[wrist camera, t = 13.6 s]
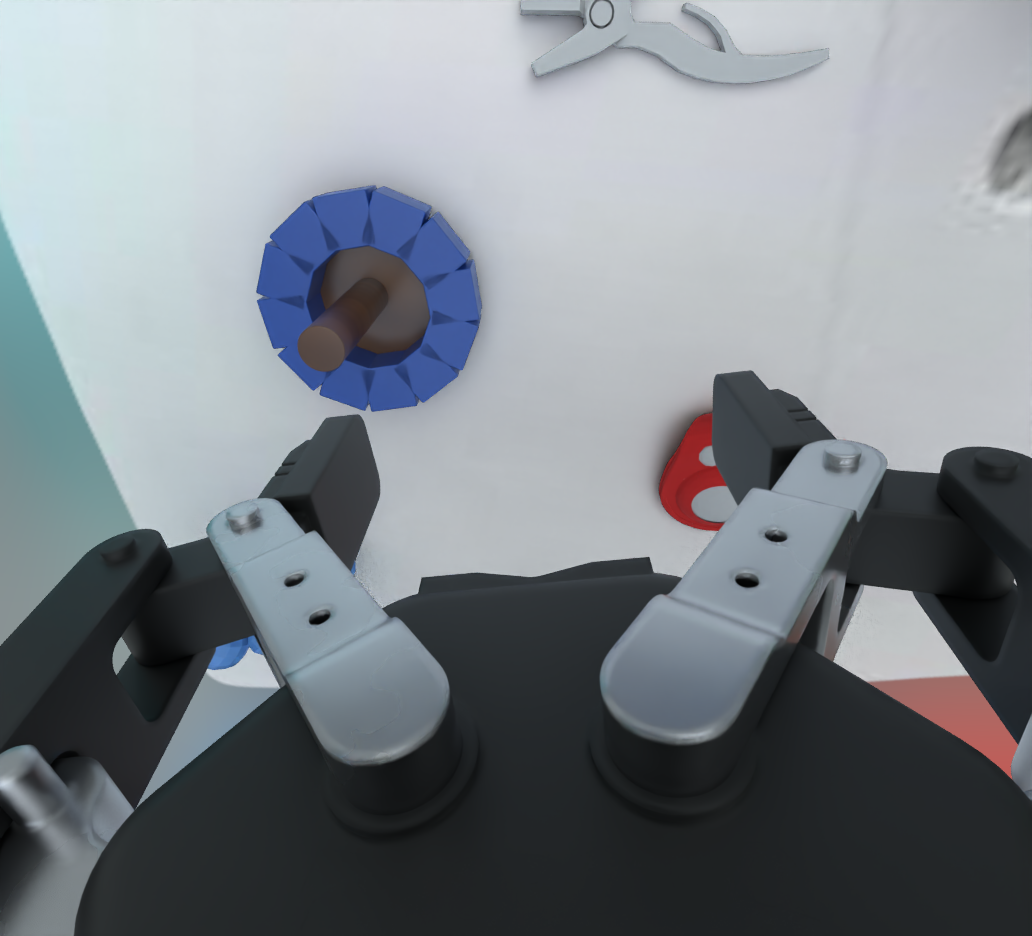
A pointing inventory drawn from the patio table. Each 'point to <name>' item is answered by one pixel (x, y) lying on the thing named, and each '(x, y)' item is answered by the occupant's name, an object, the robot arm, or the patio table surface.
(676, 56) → the pliers
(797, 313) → the patio table surface
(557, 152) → the patio table surface
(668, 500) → the tracker holder
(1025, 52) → the patio table surface
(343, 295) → the post
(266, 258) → the ring
